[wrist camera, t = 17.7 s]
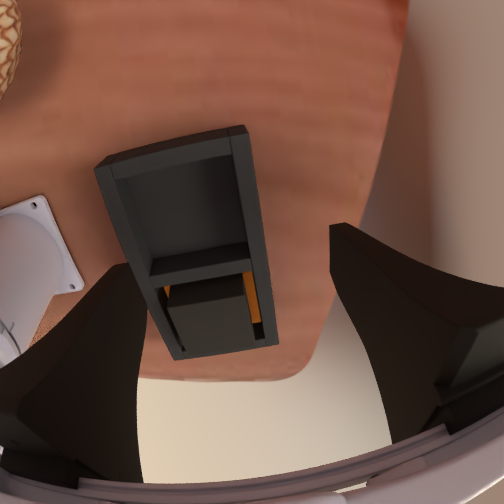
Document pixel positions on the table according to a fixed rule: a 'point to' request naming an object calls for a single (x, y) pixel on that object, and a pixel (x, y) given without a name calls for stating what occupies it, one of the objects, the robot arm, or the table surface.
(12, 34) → the acorn
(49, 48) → the table surface
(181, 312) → the black pad
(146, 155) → the socket pad
